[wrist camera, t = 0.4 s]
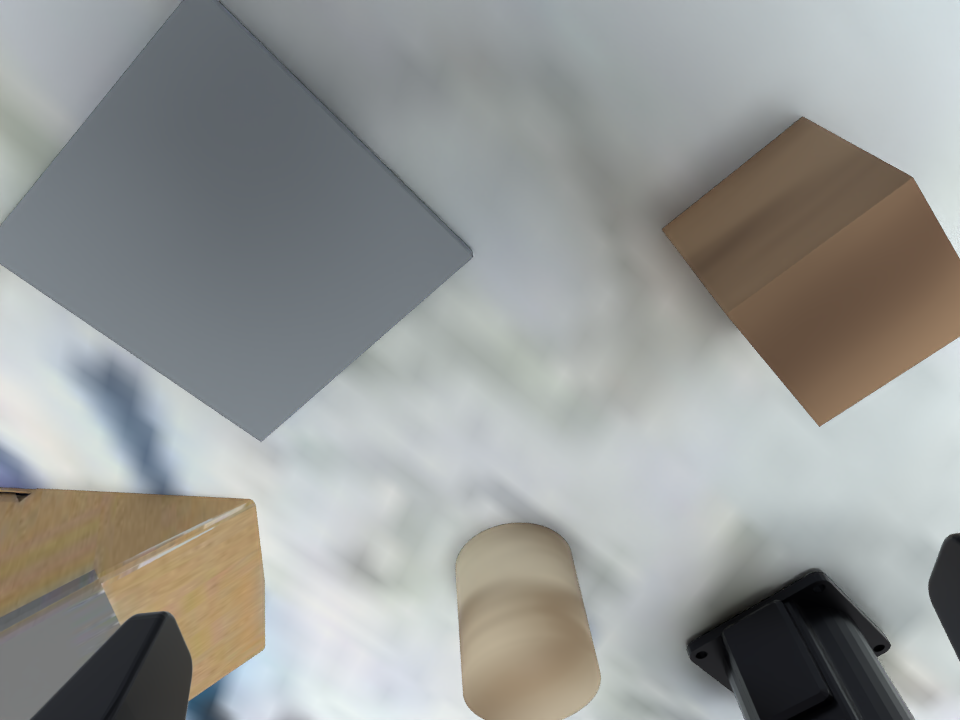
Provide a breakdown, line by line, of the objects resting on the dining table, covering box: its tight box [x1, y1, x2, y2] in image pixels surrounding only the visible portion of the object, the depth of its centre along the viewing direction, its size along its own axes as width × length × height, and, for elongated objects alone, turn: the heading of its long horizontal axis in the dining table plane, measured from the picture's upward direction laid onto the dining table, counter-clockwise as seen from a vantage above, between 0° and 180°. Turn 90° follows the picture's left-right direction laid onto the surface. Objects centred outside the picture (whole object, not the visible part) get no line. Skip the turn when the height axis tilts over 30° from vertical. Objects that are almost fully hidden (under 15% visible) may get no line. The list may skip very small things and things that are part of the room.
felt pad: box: [0, 0, 473, 442], centre depth 19 cm, size 9×9×1 cm
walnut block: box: [662, 117, 960, 427], centre depth 18 cm, size 4×4×5 cm
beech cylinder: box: [455, 523, 601, 720], centre depth 25 cm, size 4×4×5 cm
